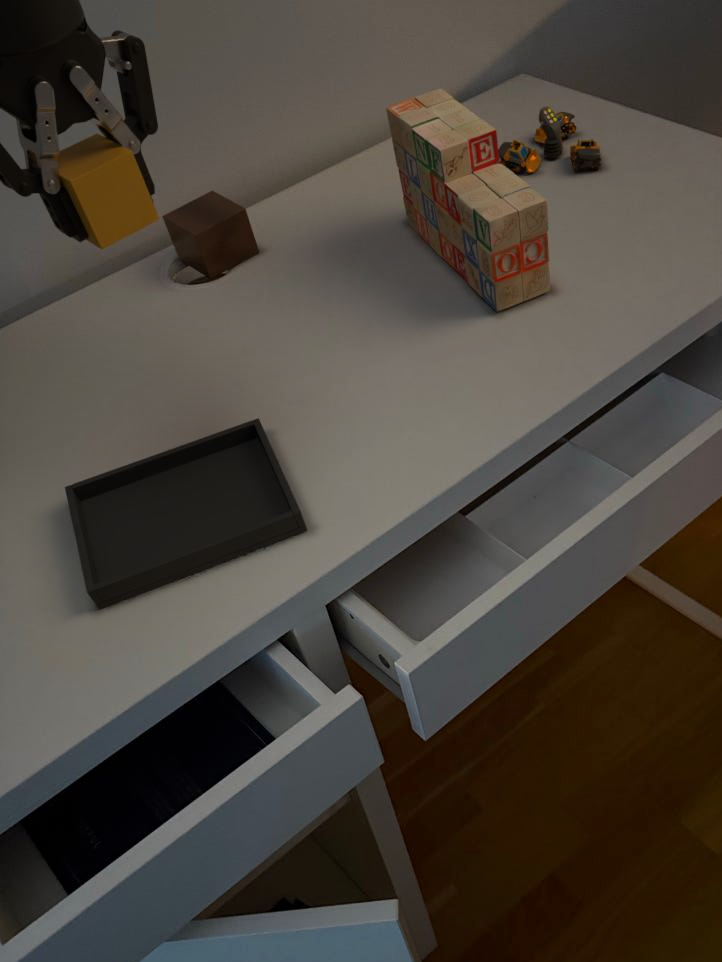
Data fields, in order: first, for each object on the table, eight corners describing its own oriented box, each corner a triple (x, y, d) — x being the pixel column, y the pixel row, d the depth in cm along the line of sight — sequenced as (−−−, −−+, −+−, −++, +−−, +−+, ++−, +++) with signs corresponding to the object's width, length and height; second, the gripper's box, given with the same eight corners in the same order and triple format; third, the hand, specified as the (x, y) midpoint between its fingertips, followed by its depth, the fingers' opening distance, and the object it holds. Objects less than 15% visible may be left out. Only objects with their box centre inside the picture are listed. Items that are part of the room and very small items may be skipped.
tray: (98, 609, 72) (86, 592, 71) (75, 504, 80) (64, 486, 79) (307, 530, 75) (300, 512, 73) (265, 436, 83) (258, 417, 81)
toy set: (557, 197, 102) (555, 152, 98) (486, 167, 108) (482, 124, 104) (631, 152, 106) (632, 108, 103) (559, 126, 112) (558, 83, 108)
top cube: (102, 250, 67) (69, 181, 63) (69, 229, 70) (36, 161, 66) (160, 219, 69) (132, 150, 65) (125, 200, 71) (97, 132, 68)
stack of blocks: (553, 292, 91) (546, 165, 82) (496, 314, 90) (483, 189, 80) (456, 203, 104) (440, 84, 94) (406, 222, 103) (384, 104, 93)
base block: (210, 279, 100) (194, 235, 96) (179, 259, 103) (161, 216, 99) (259, 252, 102) (245, 208, 98) (227, 233, 105) (212, 190, 101)
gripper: (64, -100, 60) (166, 166, 73) (-148, -21, 55) (3, 249, 68) (123, -85, 56) (218, 192, 70) (-99, 1, 51) (50, 282, 65)
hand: (111, 219), depth 69 cm, fingers closed on top cube, 5 cm apart
